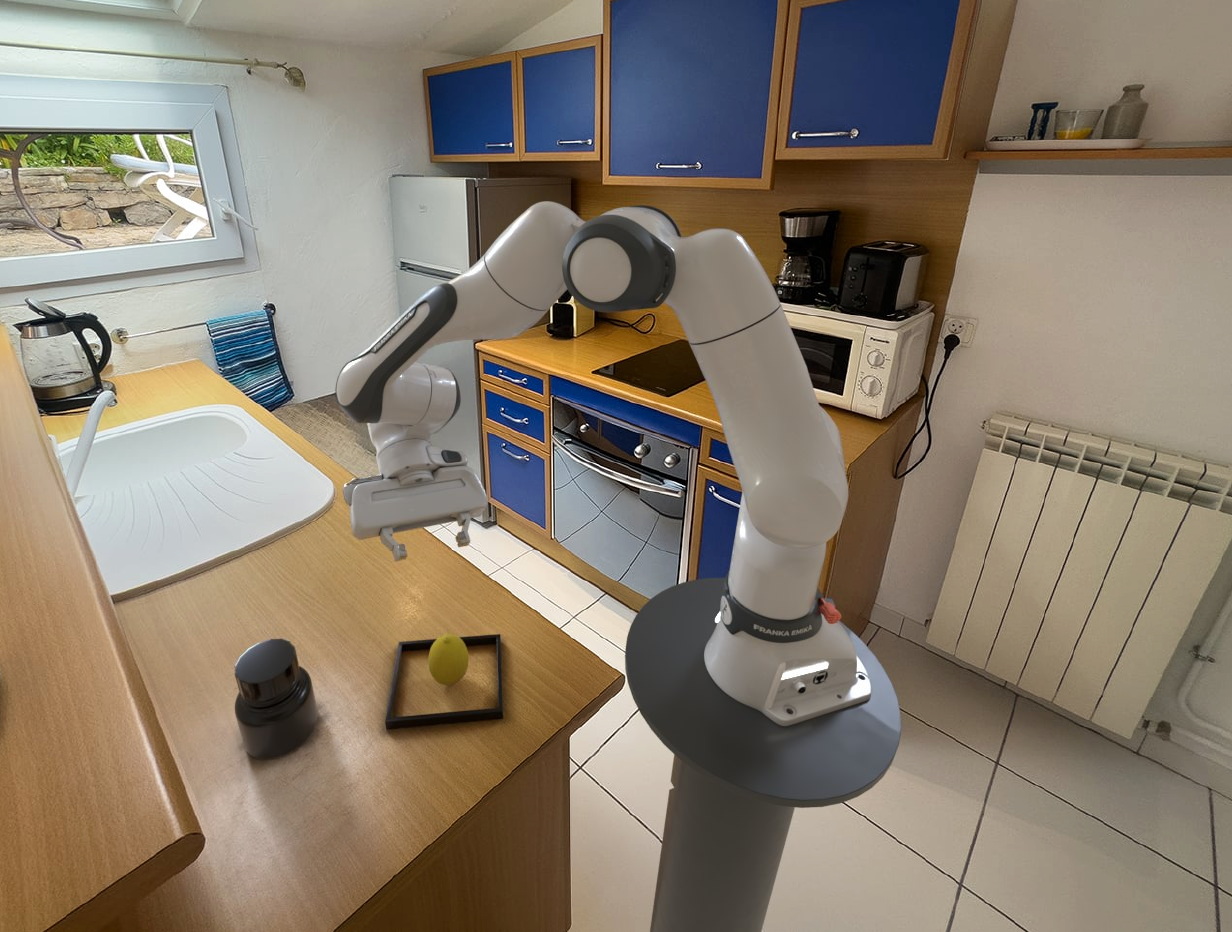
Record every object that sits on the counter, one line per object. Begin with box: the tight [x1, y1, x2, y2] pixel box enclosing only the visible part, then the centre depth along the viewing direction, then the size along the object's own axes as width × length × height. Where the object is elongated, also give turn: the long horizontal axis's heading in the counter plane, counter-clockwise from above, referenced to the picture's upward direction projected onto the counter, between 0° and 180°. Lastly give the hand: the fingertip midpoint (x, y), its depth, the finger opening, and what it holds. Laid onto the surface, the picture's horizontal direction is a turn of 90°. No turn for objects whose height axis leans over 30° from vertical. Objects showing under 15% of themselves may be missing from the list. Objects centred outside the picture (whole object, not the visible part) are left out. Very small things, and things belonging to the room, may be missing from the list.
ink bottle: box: [234, 638, 319, 760], centre depth 73 cm, size 10×9×12 cm
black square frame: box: [384, 633, 504, 731], centre depth 82 cm, size 15×13×2 cm
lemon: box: [427, 633, 470, 686], centre depth 80 cm, size 6×6×8 cm
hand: (434, 551), depth 82 cm, fingers open, 8 cm apart
